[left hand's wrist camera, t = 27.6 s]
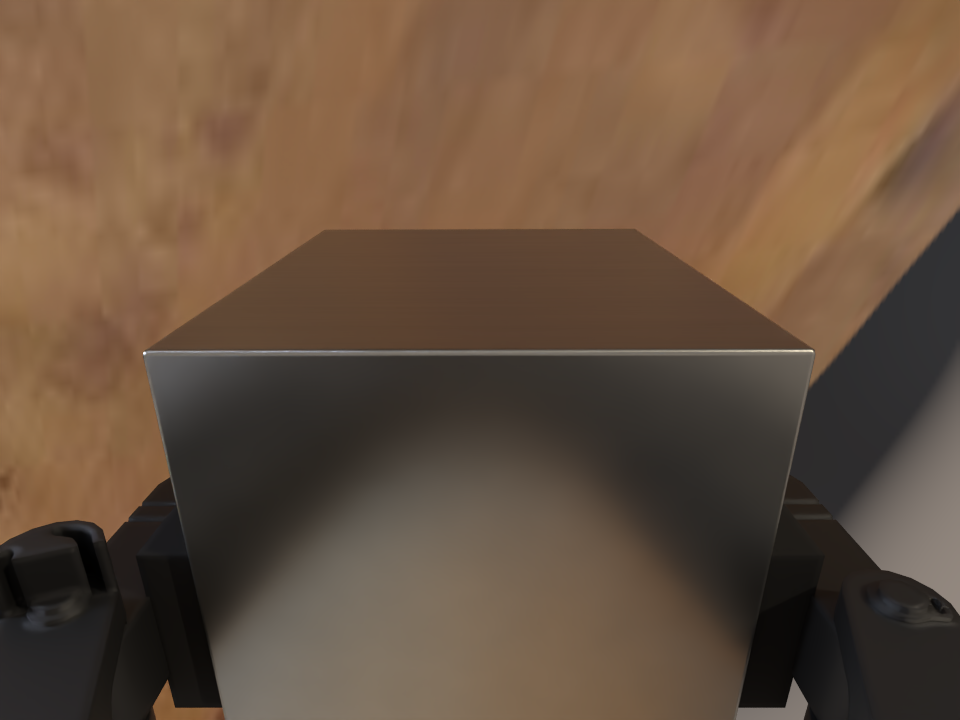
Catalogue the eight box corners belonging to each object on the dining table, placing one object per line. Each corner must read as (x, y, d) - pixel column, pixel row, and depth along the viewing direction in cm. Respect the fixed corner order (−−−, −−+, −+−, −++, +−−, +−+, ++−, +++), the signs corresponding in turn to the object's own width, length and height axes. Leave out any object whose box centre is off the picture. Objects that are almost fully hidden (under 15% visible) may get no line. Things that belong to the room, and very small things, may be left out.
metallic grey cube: (352, 527, 17) (251, 844, 9) (323, 229, 14) (139, 351, 6) (608, 526, 17) (710, 844, 9) (636, 228, 14) (818, 350, 6)
